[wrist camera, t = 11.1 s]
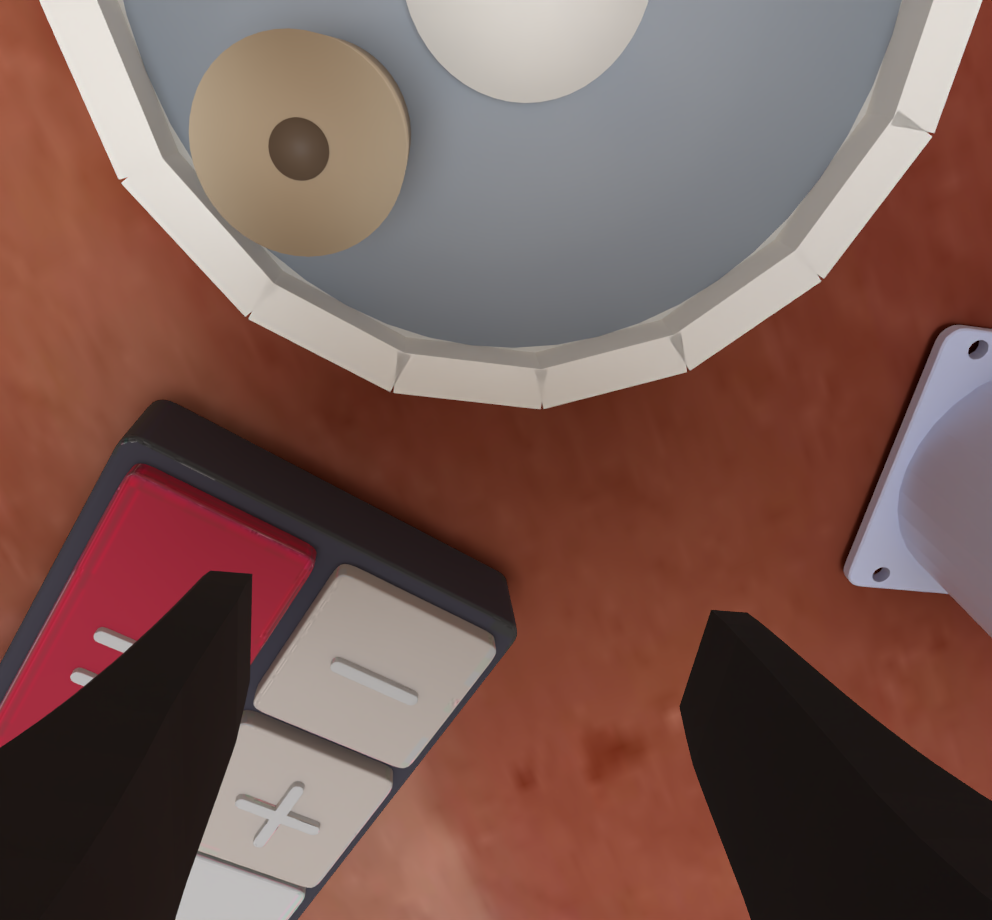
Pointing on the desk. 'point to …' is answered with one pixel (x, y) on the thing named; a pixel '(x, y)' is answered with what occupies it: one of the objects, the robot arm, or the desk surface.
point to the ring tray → (548, 172)
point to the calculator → (268, 644)
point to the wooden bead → (300, 140)
